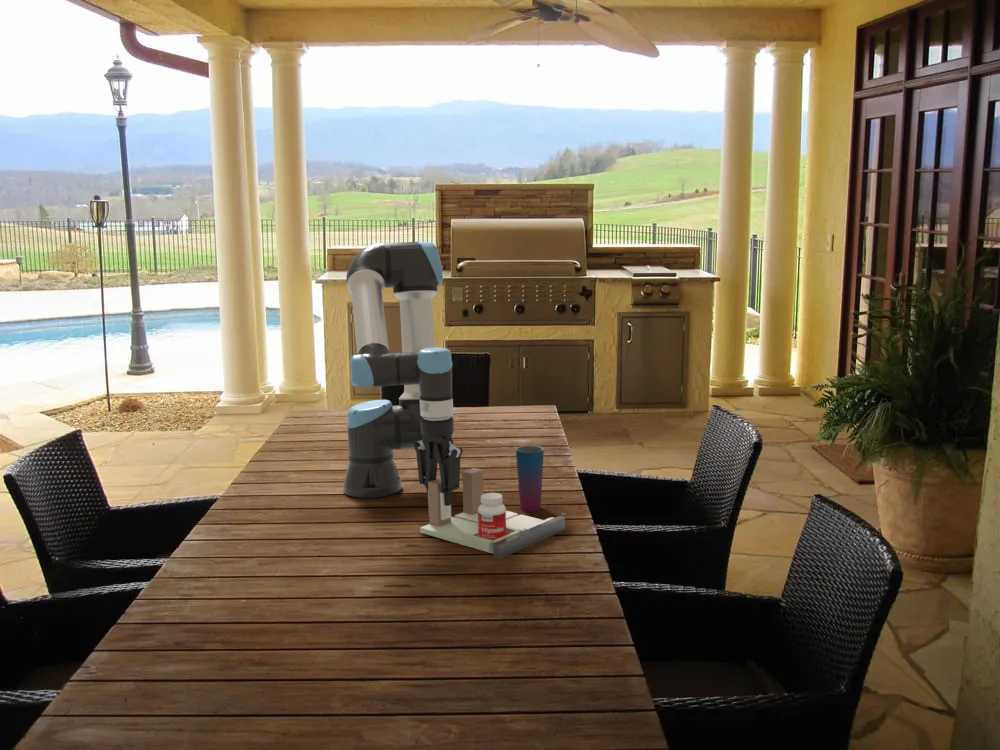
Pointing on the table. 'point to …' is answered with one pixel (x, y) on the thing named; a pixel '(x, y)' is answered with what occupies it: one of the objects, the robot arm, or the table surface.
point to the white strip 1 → (474, 495)
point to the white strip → (524, 522)
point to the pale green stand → (456, 525)
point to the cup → (530, 476)
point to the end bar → (528, 537)
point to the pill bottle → (491, 517)
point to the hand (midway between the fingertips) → (440, 516)
